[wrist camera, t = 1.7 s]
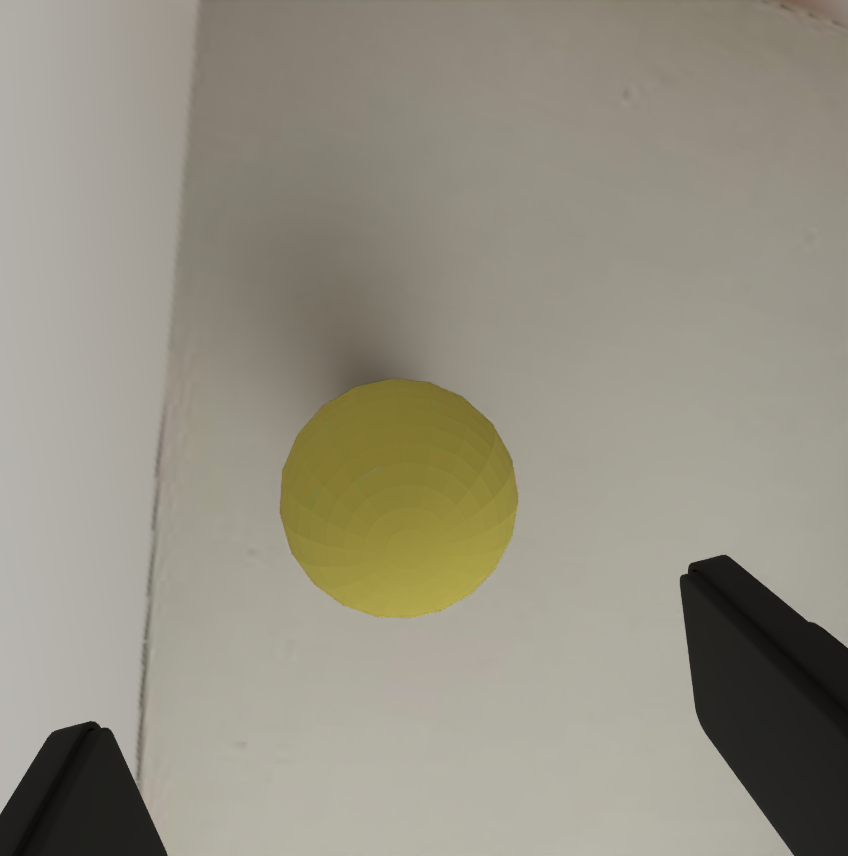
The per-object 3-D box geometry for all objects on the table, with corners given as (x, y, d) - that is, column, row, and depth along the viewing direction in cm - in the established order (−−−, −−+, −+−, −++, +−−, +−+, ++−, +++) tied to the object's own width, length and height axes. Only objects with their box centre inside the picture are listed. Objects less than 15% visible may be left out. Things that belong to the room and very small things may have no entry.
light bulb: (360, 307, 23) (363, 355, 14) (508, 403, 25) (602, 506, 15) (266, 457, 25) (209, 595, 15) (413, 539, 26) (445, 712, 17)
